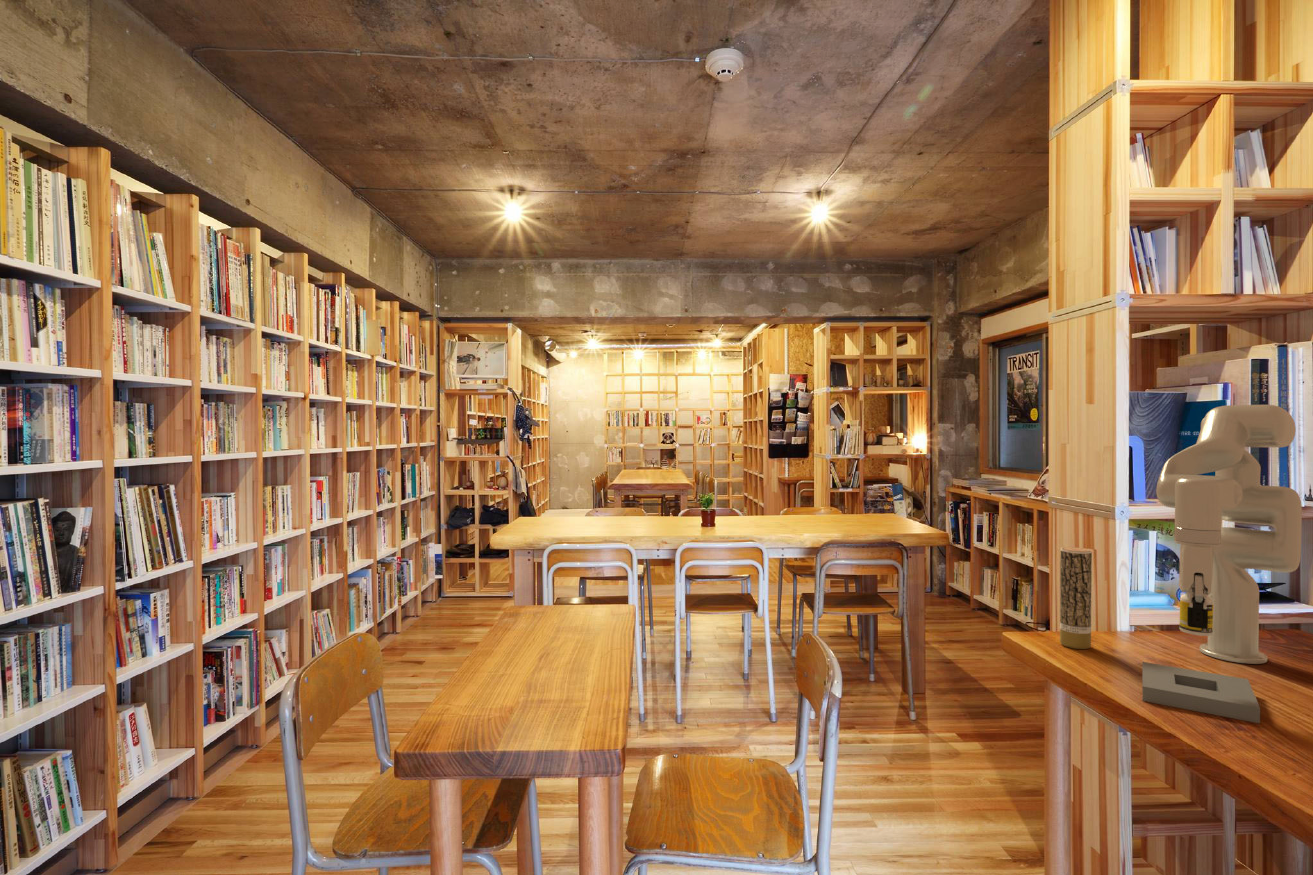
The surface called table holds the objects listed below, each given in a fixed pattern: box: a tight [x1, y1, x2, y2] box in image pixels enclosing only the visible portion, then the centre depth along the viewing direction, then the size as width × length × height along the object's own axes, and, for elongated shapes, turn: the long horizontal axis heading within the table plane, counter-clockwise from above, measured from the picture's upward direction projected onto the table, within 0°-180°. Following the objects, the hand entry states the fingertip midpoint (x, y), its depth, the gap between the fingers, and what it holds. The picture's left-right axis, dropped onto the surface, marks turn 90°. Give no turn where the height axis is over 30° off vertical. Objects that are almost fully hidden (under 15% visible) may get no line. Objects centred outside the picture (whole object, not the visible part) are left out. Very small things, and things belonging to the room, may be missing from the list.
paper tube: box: [1059, 546, 1093, 650], centre depth 172 cm, size 7×7×25 cm
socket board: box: [1141, 661, 1261, 724], centre depth 139 cm, size 18×18×3 cm
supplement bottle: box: [1178, 588, 1213, 637], centre depth 139 cm, size 5×5×10 cm
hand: (1196, 623), depth 139 cm, fingers closed on supplement bottle, 5 cm apart
